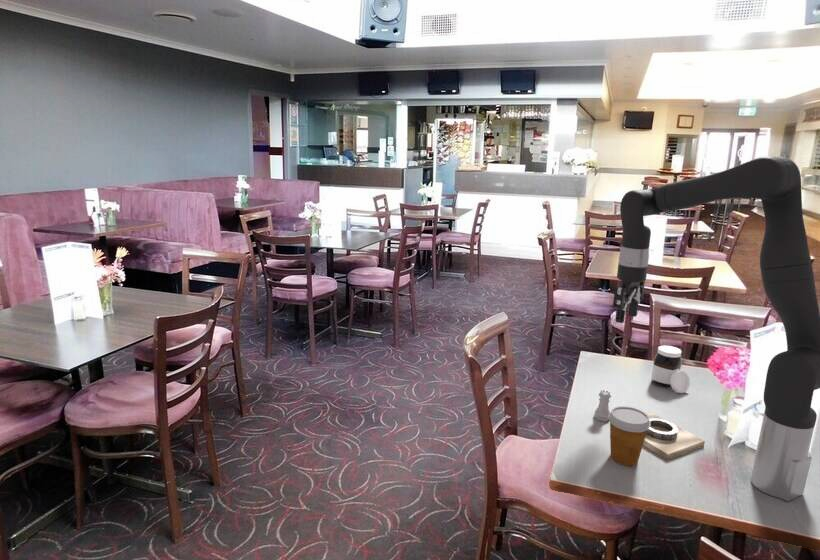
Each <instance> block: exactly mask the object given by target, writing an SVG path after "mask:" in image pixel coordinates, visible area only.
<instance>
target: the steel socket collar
mask: <svg viewBox="0 0 820 560" xmlns="http://www.w3.org/2000/svg"><path fill="white" fill-rule="evenodd" d="M663 419H664V418H663ZM663 419H659V418H649V420H650V422H651V425H650V427H649V429H648V430H647V433H646V434H647V435H649V436H650V437H652V438H655V439H659V440H664V441H671V440H674V439H676V438H677V434H678V428H677V427H676V426H677V425H676V424H675V423H673V422H671V421H669V420H667V419H665V420H663ZM652 426H656V427H662V428H665V429H667V430H669V431H670V432H661V431H658V430H655V429H653V428H651V427H652Z"/></svg>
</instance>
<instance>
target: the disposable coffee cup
mask: <svg viewBox="0 0 820 560" xmlns="http://www.w3.org/2000/svg"><path fill="white" fill-rule="evenodd" d="M609 412H610V413H609V416H608V417H609V429H610V430H609V435H610V436H609V439H610V440H609V442H610V444H609V445H610V449H609V450H610V459H611V460H612V461H613V462H615V463H617V464H619V465H621V466H625V467H634V466H636V465H637V464H638V463H639V459H640V455H641V452H642V450H643V449H642V448H643V446H644V445H643V443H644V440H645V437H646V433H647V430H648V429H649V427H650V425H651V422H650V420H649V416H648V414H647V413H646V412H644V411H643V410H641V409H639V408H636V407H632V406H625V405H623V406H622V405H621V406H616V407H614V408H613V407H612V409H611V411H609Z"/></svg>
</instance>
